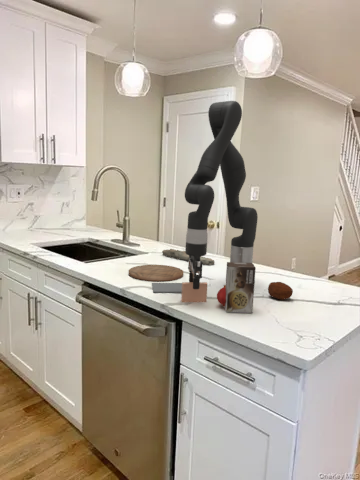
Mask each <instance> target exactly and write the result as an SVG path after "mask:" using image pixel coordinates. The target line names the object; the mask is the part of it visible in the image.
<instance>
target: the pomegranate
mask: <svg viewBox="0 0 360 480" xmlns="http://www.w3.org/2000/svg"><path fill="white" fill-rule="evenodd" d="M216 299H217V302H218V303H219V304H220V305H221V306H222V307H223V308H225V303H226V284H224V285H223V287H221V288H220V289H219V290H218V292H217V293H216Z"/></svg>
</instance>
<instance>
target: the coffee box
mask: <svg viewBox="0 0 360 480" xmlns="http://www.w3.org/2000/svg"><path fill="white" fill-rule="evenodd" d="M256 267H257V266H255V265H254V264H253V262H252V263H240V262H230V261H227V262H226V272H225V285H226V303H225V307H224V309H225V312H226V313H246V314H247V313H248V314H253V311H254V296H255V295H254V294H255V280H256Z"/></svg>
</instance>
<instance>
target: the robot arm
mask: <svg viewBox="0 0 360 480" xmlns="http://www.w3.org/2000/svg"><path fill="white" fill-rule="evenodd" d="M207 116H208V122H209V126H210V130H211V133H212V136H213V140H212V142H210V144H209V145H208V146H207V148H206V149H204V152H203V154H202V155H201V157H200V161H199V163H198V166H197V170H196V171H195V173H194V174H193V175H192V178H191V179H190V180H189V182H188V184H187V185H186V187H185V189H184V199H185V201H186V203H188V204H190V205H197V206H198V207H197V209H196V210H194V211H190V212H189V213H188V215H187V228H186V230H187V231H186V235H185V236H186V237H185V250H184V251H185V253H186V254H187V255H189V261H188V267H187V269H188V273H189V275H188V282H193V289H199V285H200V282H201V279H202V278H203V276H202V275H203V265H204V264H203V262H202V261H200V257H201V256H202V257H205V256H206V255H207V251H208V250H207V249H208V227H209V226H208V225H209V224H208V221H209V216H210V213H211V211H212V206H213V203H214V201H215V191H214V189H213V187H212V186H211V185H209V184H207V183H210V182H211V183H212V182H213V181H215V179H216V177H217V174H218V171H219V168H220V172H221V178H222V182H223V187H224V194H225V198H226V208H227V210H226V211H227V218H228V223H229V225H230V226H231V227H232V228H233V229H238V230H242V233H241V235H238V236H235V237H232V238H231V241H230V257H229V262H240V263H253V258H254V245H255V244H254V243H255V240H256V234H257V227H258V211H257V210H256V208H254V207H248V206H241V204H240V192H241V190H242V188H243V186H244V184H245V182H246V178H247V173H246V168H245V161H244V158H243V156H242V154H241V153H240V151H239V150H238V149H237V148H236V146H235V145H234V144H233V142H232V139H233V138H234V135H235V133H236V131H237V129H238V128H239V125H240V123H241V121H242V117H243V111H242V106H241V104H240V102H238V101H236V100H228V101H227V100H224V101H217V102H213V103H211V104H210V106H209V107H208V115H207Z"/></svg>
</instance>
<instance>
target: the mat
mask: <svg viewBox="0 0 360 480" xmlns="http://www.w3.org/2000/svg"><path fill="white" fill-rule="evenodd" d="M151 287H152V292H153V294H182V282H151Z"/></svg>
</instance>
